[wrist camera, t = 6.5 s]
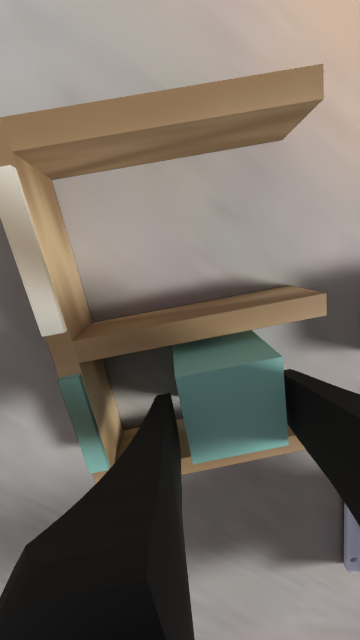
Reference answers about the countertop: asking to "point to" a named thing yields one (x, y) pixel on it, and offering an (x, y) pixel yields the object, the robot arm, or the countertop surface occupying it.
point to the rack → (56, 254)
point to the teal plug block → (231, 395)
